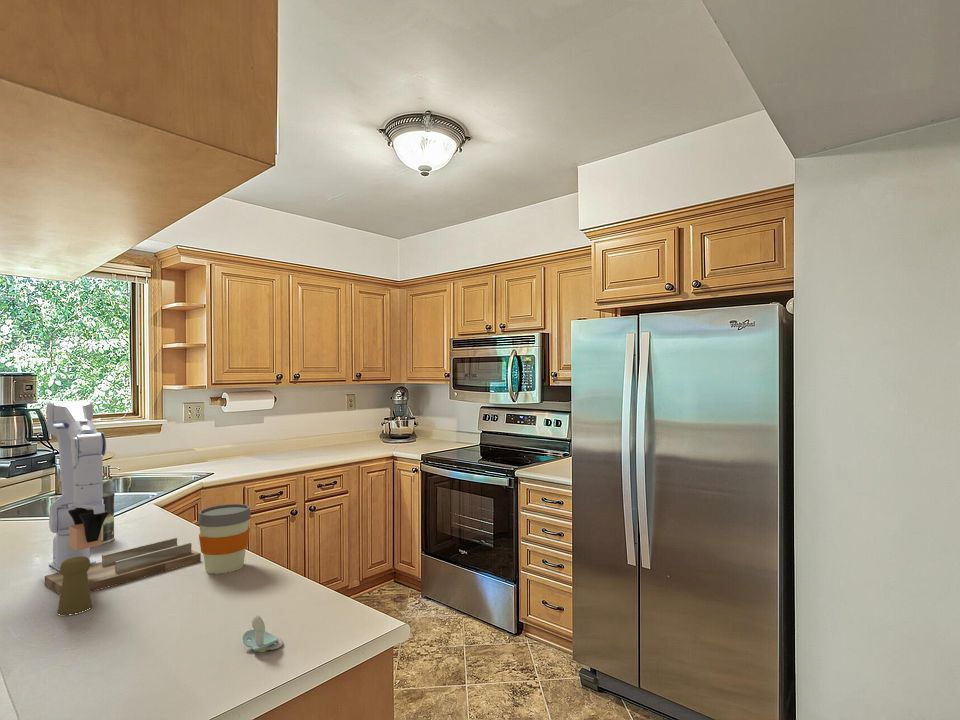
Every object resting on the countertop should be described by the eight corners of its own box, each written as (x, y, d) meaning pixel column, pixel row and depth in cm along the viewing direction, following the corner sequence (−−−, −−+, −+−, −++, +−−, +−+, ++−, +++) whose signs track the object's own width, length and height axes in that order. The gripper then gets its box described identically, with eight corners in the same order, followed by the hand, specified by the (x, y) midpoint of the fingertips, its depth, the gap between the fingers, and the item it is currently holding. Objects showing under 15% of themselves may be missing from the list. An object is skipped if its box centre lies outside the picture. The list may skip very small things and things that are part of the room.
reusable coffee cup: (205, 580, 132) (205, 518, 133) (191, 567, 142) (192, 509, 142) (258, 568, 140) (257, 509, 141) (242, 556, 150) (241, 501, 150)
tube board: (44, 584, 131) (44, 565, 131) (174, 550, 155) (174, 534, 155) (66, 598, 122) (66, 578, 122) (200, 560, 146) (200, 544, 147)
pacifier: (268, 635, 104) (238, 647, 100) (269, 602, 105) (239, 612, 100) (290, 647, 100) (260, 660, 95) (291, 612, 100) (261, 623, 95)
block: (69, 546, 131) (69, 526, 131) (93, 541, 135) (93, 521, 135) (76, 550, 128) (76, 529, 128) (101, 545, 132) (101, 524, 132)
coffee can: (105, 535, 172) (105, 490, 172) (120, 540, 166) (121, 493, 167) (66, 543, 163) (66, 496, 164) (82, 549, 158) (82, 500, 158)
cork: (73, 617, 113) (73, 563, 113) (49, 614, 114) (50, 562, 114) (99, 604, 119) (99, 554, 119) (76, 602, 120) (76, 552, 120)
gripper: (58, 482, 134) (57, 538, 133) (79, 489, 125) (79, 549, 125) (91, 478, 139) (91, 531, 139) (114, 484, 131) (114, 541, 130)
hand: (88, 539), depth 132 cm, fingers closed on block, 5 cm apart
